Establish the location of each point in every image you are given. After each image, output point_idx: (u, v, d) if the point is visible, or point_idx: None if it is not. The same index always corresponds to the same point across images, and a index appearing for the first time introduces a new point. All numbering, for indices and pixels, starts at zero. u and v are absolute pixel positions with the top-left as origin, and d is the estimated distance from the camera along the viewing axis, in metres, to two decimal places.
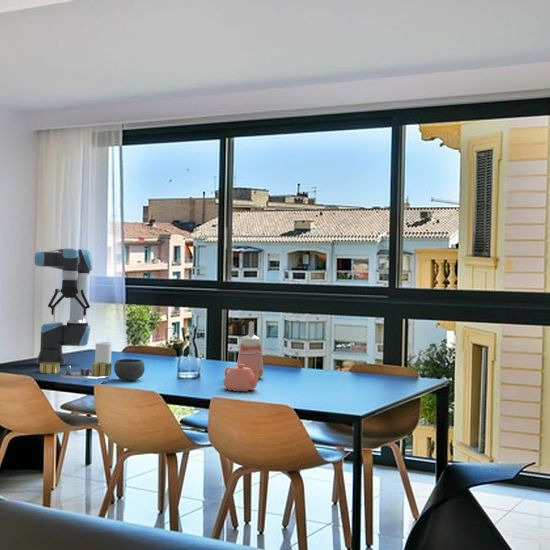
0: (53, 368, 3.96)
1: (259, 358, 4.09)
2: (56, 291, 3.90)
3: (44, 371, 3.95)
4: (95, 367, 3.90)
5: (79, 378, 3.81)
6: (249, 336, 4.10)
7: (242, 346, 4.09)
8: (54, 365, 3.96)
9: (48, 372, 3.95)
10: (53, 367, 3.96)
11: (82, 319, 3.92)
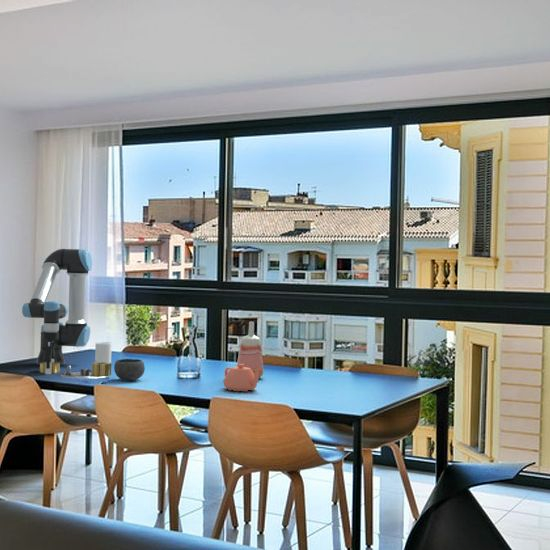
0: (53, 368, 3.96)
1: (259, 358, 4.09)
2: None
3: (44, 371, 3.95)
4: (95, 367, 3.90)
5: (79, 378, 3.81)
6: (249, 336, 4.10)
7: (242, 346, 4.09)
8: (54, 365, 3.96)
9: None
10: (53, 367, 3.96)
11: (45, 372, 3.92)
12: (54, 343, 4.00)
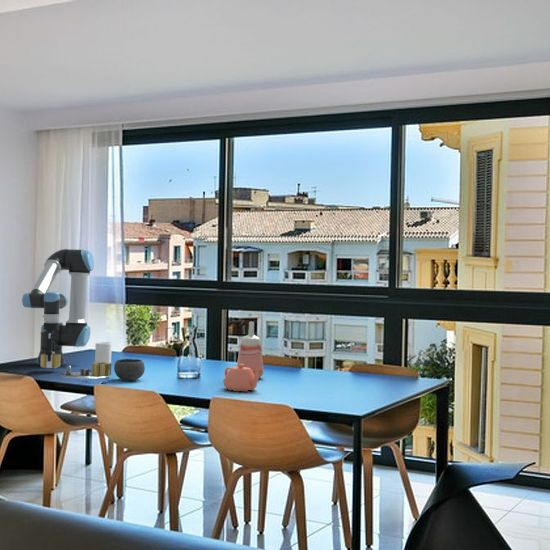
0: (54, 360, 3.97)
1: (259, 358, 4.09)
2: None
3: (45, 363, 3.96)
4: (95, 367, 3.90)
5: (79, 378, 3.81)
6: (249, 336, 4.10)
7: (242, 346, 4.09)
8: (55, 357, 3.97)
9: None
10: (54, 359, 3.97)
11: None
12: (55, 333, 4.00)
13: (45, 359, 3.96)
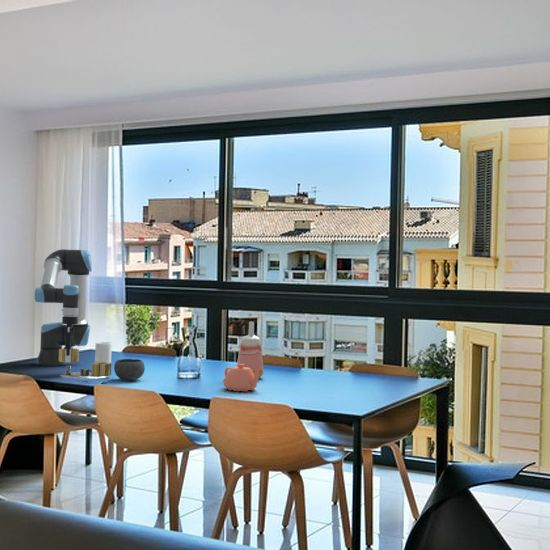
0: (72, 354, 3.89)
1: (259, 358, 4.09)
2: None
3: (63, 357, 3.88)
4: (95, 367, 3.90)
5: (79, 378, 3.81)
6: (249, 336, 4.10)
7: (242, 346, 4.09)
8: (73, 351, 3.89)
9: None
10: (72, 353, 3.89)
11: (65, 359, 3.86)
12: (73, 328, 3.93)
13: (63, 353, 3.88)
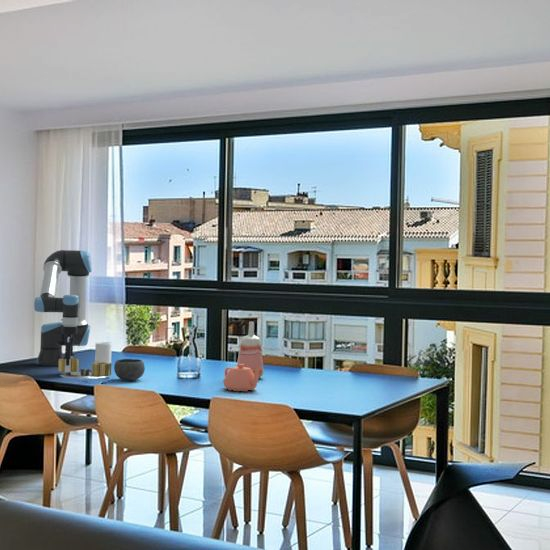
0: (72, 364, 3.89)
1: (259, 358, 4.09)
2: None
3: (63, 367, 3.88)
4: (95, 367, 3.90)
5: (79, 378, 3.81)
6: (249, 336, 4.10)
7: (242, 346, 4.09)
8: (73, 361, 3.89)
9: None
10: (72, 363, 3.89)
11: None
12: (73, 337, 3.93)
13: (63, 363, 3.88)
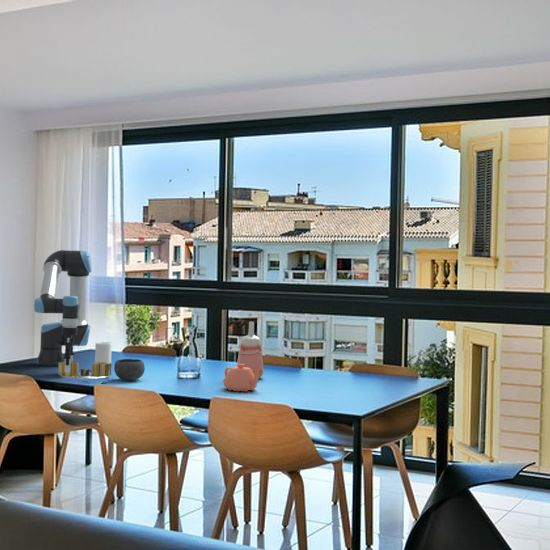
0: (72, 368, 3.89)
1: (259, 358, 4.09)
2: None
3: (63, 371, 3.88)
4: (95, 367, 3.90)
5: (79, 378, 3.81)
6: (249, 336, 4.10)
7: (242, 346, 4.09)
8: (73, 365, 3.89)
9: (67, 372, 3.87)
10: (72, 367, 3.89)
11: None
12: (73, 339, 3.93)
13: (63, 367, 3.88)
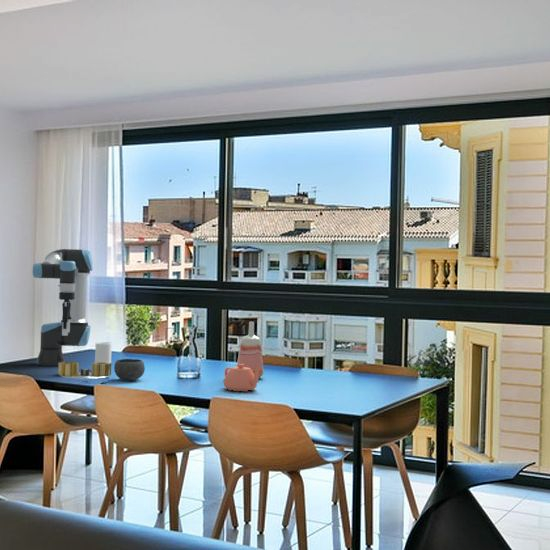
0: (72, 368, 3.89)
1: (259, 358, 4.09)
2: None
3: (63, 371, 3.88)
4: (95, 367, 3.90)
5: (79, 378, 3.81)
6: (249, 336, 4.10)
7: (242, 346, 4.09)
8: (73, 365, 3.89)
9: (67, 372, 3.87)
10: (72, 367, 3.89)
11: (62, 332, 3.88)
12: (70, 303, 3.96)
13: (63, 367, 3.88)
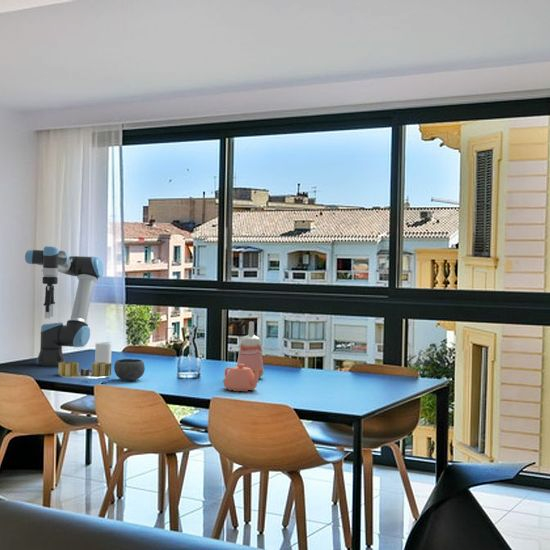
0: (72, 368, 3.89)
1: (259, 358, 4.09)
2: None
3: (63, 371, 3.88)
4: (95, 367, 3.90)
5: (79, 378, 3.81)
6: (249, 336, 4.10)
7: (242, 346, 4.09)
8: (73, 365, 3.89)
9: (67, 372, 3.87)
10: (72, 367, 3.89)
11: None
12: (53, 288, 4.06)
13: (63, 367, 3.88)
